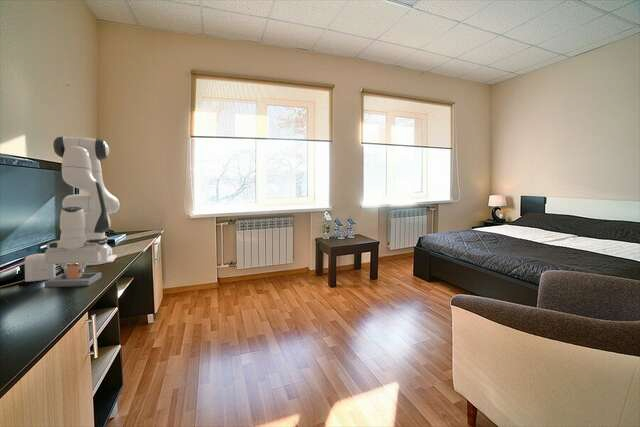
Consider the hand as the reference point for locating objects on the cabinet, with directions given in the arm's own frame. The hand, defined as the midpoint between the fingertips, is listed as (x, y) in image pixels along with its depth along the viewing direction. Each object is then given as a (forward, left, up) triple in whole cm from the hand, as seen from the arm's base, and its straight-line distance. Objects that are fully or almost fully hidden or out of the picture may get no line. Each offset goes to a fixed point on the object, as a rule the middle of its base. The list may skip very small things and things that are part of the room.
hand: (74, 272), depth 129 cm
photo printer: (-6, -16, -5) cm, 18 cm away
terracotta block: (0, 0, -2) cm, 2 cm away
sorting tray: (0, 0, -5) cm, 5 cm away
